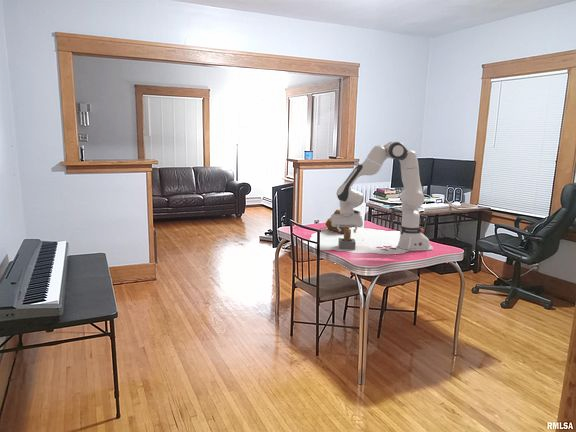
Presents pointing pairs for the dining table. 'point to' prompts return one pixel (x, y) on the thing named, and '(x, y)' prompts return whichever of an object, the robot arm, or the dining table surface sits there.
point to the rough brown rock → (335, 227)
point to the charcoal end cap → (346, 244)
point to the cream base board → (361, 248)
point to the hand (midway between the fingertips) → (347, 232)
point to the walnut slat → (347, 234)
